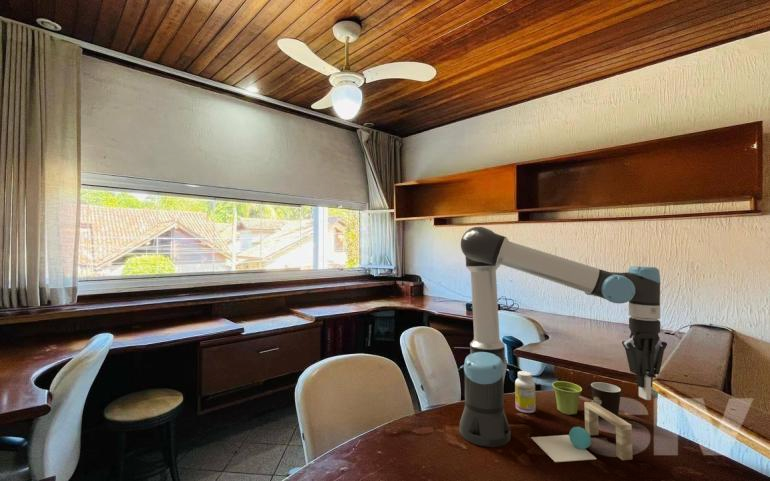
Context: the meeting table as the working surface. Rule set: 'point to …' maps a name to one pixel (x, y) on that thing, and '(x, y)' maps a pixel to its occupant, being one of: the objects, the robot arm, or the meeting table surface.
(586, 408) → the bridge
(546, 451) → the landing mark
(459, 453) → the meeting table surface
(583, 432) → the ball
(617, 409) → the coffee mug
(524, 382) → the supplement bottle
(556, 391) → the plant pot
